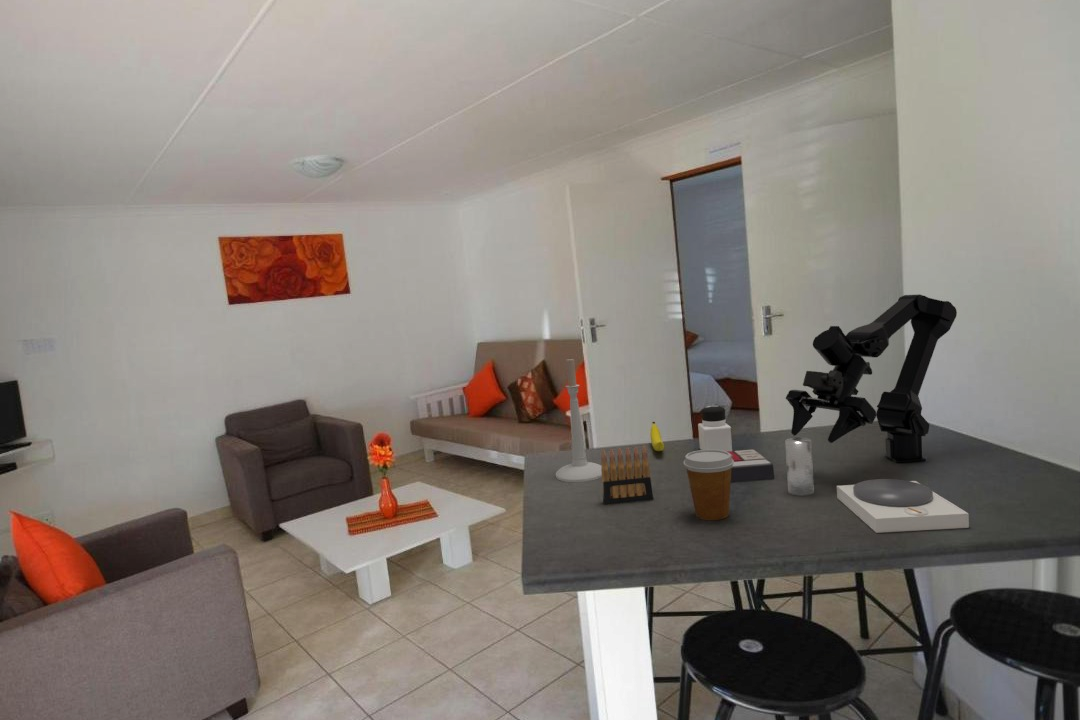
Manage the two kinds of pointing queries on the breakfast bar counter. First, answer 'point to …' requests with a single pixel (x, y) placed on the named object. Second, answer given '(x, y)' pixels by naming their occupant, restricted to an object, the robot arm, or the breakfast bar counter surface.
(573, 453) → the candlestick
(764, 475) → the calculator
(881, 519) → the kitchen scale
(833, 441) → the robot arm
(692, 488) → the disposable coffee cup
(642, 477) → the ammunition clip
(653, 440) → the banana
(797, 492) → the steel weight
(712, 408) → the medicine bottle
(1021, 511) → the breakfast bar counter surface
